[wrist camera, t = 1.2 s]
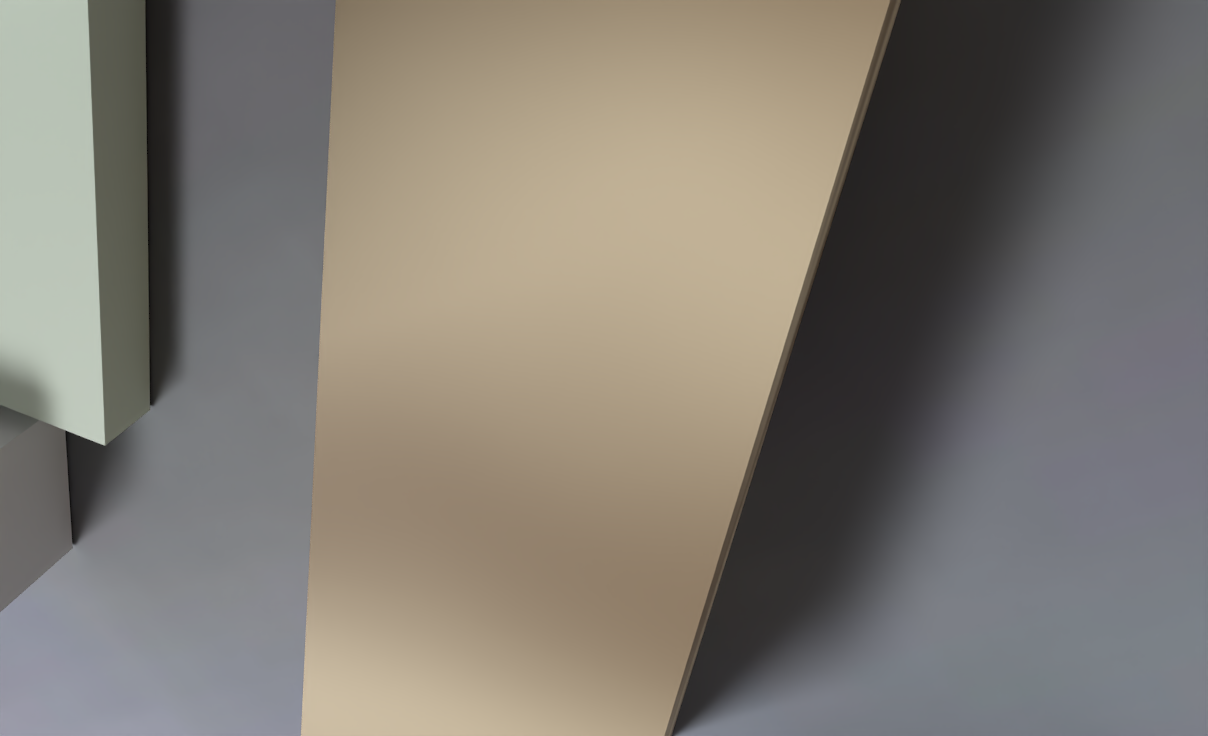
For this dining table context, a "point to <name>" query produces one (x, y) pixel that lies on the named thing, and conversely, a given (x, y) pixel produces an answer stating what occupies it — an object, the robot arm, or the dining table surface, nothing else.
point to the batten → (557, 342)
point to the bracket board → (67, 258)
